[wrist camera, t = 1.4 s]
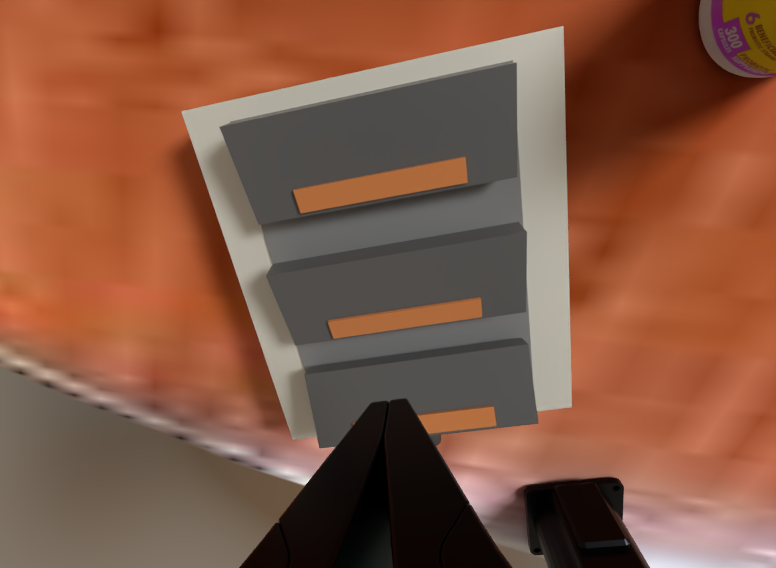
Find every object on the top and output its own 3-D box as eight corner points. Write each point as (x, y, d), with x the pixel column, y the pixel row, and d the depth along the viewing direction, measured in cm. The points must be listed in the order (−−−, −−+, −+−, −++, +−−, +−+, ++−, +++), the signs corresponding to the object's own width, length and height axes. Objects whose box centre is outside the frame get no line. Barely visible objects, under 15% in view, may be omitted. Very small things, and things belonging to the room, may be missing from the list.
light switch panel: (552, 414, 24) (573, 451, 21) (316, 441, 25) (305, 479, 22) (537, 47, 17) (564, 25, 14) (215, 117, 18) (179, 111, 16)
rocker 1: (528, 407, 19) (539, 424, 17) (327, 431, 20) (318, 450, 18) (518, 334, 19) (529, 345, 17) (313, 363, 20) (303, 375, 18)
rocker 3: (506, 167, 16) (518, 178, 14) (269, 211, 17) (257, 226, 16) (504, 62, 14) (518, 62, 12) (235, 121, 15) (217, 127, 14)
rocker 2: (515, 292, 18) (527, 314, 16) (302, 325, 19) (294, 347, 17) (515, 217, 16) (528, 233, 14) (275, 258, 17) (264, 277, 15)
